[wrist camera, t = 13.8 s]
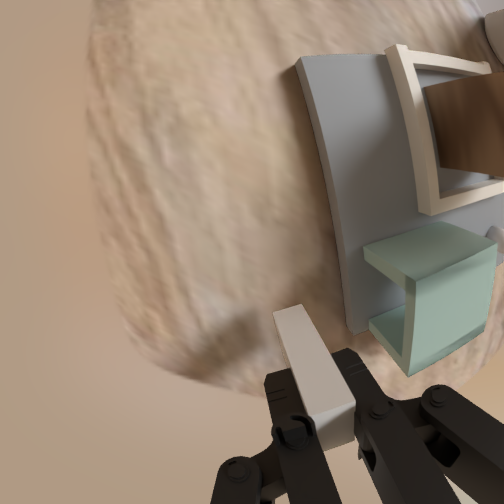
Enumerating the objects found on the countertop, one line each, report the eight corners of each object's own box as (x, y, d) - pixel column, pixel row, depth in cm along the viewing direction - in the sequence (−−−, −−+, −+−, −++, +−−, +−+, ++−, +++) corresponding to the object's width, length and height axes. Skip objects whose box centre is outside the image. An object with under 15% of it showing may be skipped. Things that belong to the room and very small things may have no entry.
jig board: (292, 59, 12) (311, 36, 9) (475, 68, 12) (503, 63, 9) (346, 325, 17) (367, 354, 14) (494, 257, 18) (518, 270, 15)
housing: (362, 246, 14) (416, 281, 10) (441, 220, 14) (497, 242, 10) (368, 329, 16) (407, 377, 11) (439, 297, 16) (483, 331, 12)
